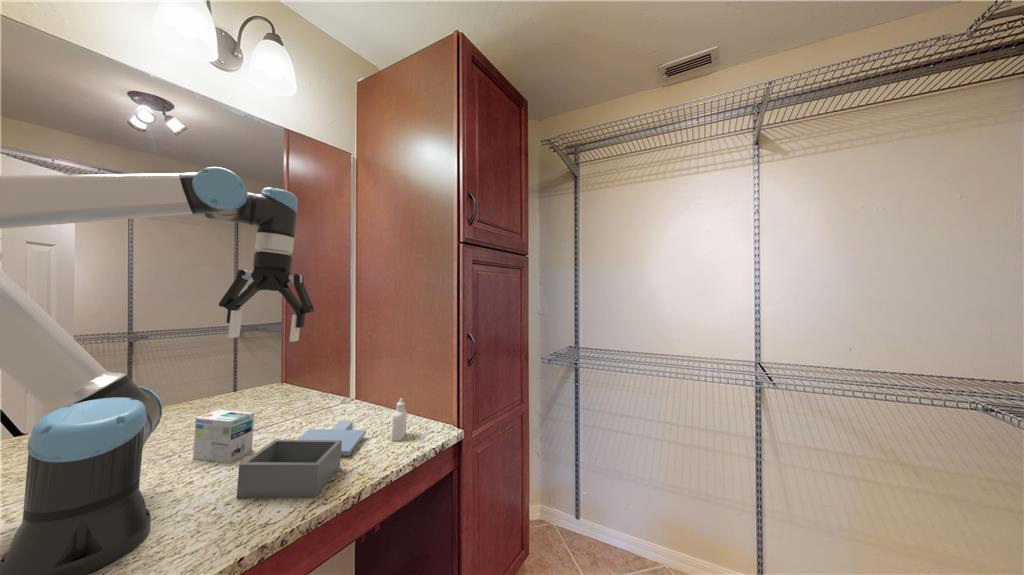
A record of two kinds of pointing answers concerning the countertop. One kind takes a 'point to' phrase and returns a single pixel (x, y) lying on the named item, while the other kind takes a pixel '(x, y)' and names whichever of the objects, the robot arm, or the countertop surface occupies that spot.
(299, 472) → the tub
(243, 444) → the light bulb box
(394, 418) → the eye dropper bottle
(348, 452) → the lid
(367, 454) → the countertop surface
